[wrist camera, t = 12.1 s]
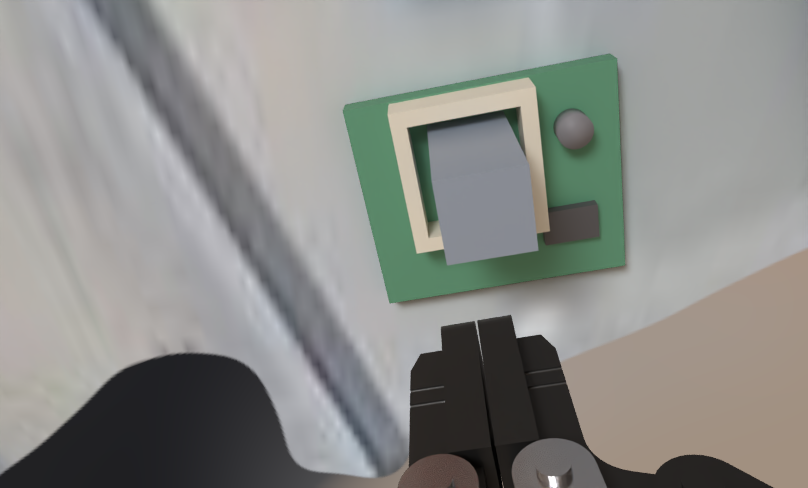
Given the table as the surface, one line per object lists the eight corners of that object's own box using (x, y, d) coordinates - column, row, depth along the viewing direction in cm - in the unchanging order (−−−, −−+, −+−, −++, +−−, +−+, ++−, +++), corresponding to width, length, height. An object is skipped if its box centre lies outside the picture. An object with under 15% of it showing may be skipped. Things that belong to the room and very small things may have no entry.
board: (609, 53, 32) (629, 66, 30) (618, 255, 38) (636, 282, 35) (344, 104, 34) (339, 122, 31) (390, 293, 39) (388, 322, 36)
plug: (503, 110, 33) (529, 164, 26) (513, 195, 35) (540, 266, 28) (426, 124, 33) (431, 181, 26) (441, 207, 35) (449, 281, 28)
